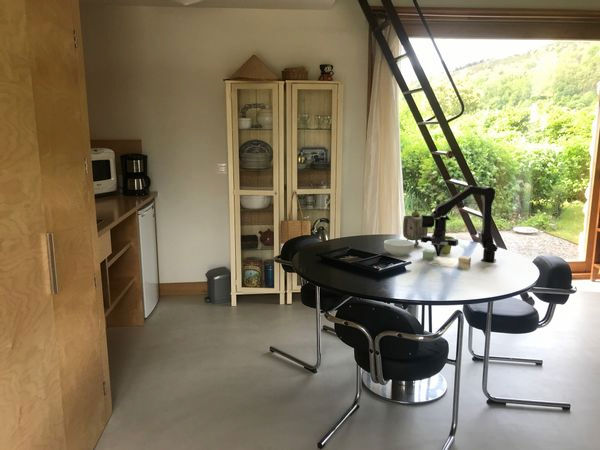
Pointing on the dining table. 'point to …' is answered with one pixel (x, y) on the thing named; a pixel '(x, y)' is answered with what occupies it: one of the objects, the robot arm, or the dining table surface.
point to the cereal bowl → (398, 247)
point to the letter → (444, 261)
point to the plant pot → (447, 247)
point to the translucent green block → (429, 254)
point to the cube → (464, 262)
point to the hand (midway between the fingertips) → (438, 256)
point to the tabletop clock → (413, 227)
